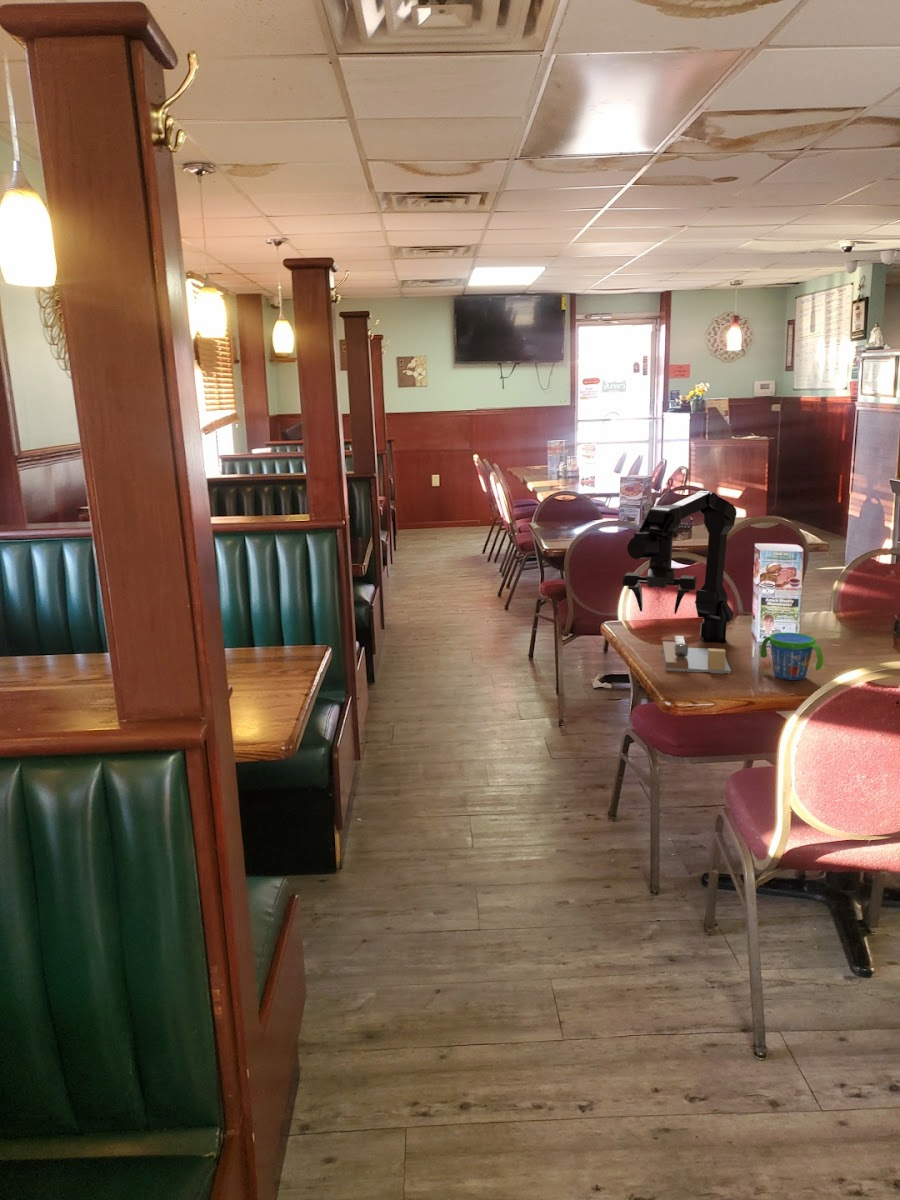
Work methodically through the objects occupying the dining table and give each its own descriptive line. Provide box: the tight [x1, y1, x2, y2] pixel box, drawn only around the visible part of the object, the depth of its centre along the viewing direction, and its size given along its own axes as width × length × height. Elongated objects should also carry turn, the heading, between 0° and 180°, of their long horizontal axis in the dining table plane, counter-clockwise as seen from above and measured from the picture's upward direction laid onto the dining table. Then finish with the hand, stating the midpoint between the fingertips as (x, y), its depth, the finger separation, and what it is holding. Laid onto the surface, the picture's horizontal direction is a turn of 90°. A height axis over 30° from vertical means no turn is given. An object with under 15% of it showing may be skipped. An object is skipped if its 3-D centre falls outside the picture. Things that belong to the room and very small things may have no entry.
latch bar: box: [674, 635, 689, 656], centre depth 224 cm, size 13×3×2 cm, turn 169°
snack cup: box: [759, 632, 824, 681], centre depth 210 cm, size 16×10×10 cm
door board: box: [661, 641, 732, 675], centre depth 225 cm, size 16×20×6 cm
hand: (658, 612), depth 228 cm, fingers open, 9 cm apart
